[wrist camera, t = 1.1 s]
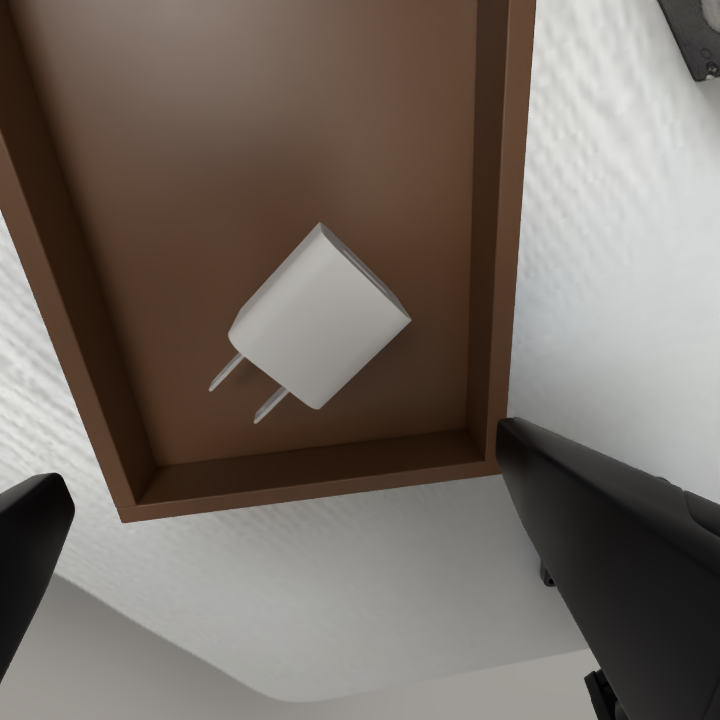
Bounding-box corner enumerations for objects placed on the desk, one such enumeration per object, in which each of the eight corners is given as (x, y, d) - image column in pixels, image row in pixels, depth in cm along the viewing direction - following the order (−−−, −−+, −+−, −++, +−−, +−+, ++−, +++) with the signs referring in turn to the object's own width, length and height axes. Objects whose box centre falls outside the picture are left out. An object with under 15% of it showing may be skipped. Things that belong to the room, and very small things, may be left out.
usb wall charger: (394, 293, 17) (415, 326, 14) (278, 407, 19) (270, 465, 15) (319, 219, 16) (321, 234, 12) (201, 349, 17) (172, 397, 14)
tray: (478, 436, 21) (502, 474, 18) (146, 477, 20) (121, 524, 17) (501, -115, 13) (550, -187, 10) (-47, -93, 12) (-147, -167, 9)
